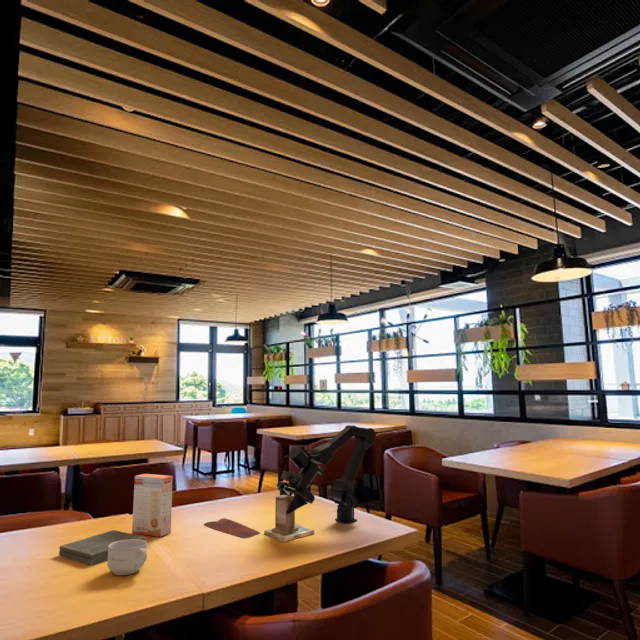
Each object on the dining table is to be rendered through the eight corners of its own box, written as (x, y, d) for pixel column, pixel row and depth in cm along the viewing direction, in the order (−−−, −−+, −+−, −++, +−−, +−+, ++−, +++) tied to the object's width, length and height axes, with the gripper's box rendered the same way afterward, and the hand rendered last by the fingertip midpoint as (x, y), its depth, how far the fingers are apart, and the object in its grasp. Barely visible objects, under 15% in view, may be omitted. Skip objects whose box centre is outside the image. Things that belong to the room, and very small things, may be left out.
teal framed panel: (295, 526, 181) (295, 522, 181) (314, 533, 171) (314, 530, 172) (264, 533, 172) (264, 529, 172) (282, 541, 163) (282, 537, 163)
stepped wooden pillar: (283, 527, 176) (283, 493, 178) (298, 529, 172) (298, 495, 174) (271, 531, 170) (271, 497, 172) (287, 534, 166) (287, 499, 168)
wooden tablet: (202, 526, 184) (202, 522, 185) (223, 521, 191) (223, 516, 192) (242, 541, 166) (242, 536, 166) (264, 534, 173) (264, 529, 173)
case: (91, 567, 143) (145, 548, 160) (92, 553, 143) (146, 535, 160) (58, 557, 152) (113, 540, 169) (59, 544, 152) (113, 528, 169)
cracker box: (171, 533, 174) (173, 475, 177) (160, 538, 169) (162, 478, 172) (143, 528, 180) (145, 472, 183) (131, 533, 174) (133, 475, 177)
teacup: (101, 571, 138) (102, 543, 139) (137, 562, 146) (138, 534, 147) (119, 585, 128) (121, 554, 129) (157, 574, 136) (158, 545, 137)
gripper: (280, 459, 184) (255, 492, 176) (307, 465, 169) (281, 502, 161) (297, 477, 187) (273, 511, 179) (325, 485, 173) (300, 522, 165)
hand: (281, 511), depth 171 cm, fingers open, 7 cm apart
